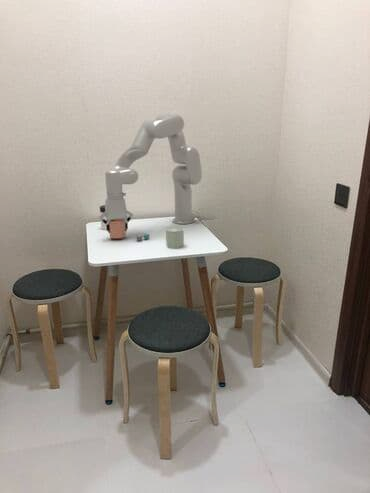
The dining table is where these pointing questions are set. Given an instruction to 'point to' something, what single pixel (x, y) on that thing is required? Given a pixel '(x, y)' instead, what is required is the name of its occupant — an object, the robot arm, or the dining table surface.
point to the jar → (102, 210)
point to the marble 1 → (139, 237)
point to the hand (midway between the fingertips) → (117, 231)
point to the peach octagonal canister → (117, 228)
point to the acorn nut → (174, 237)
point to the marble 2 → (146, 236)
